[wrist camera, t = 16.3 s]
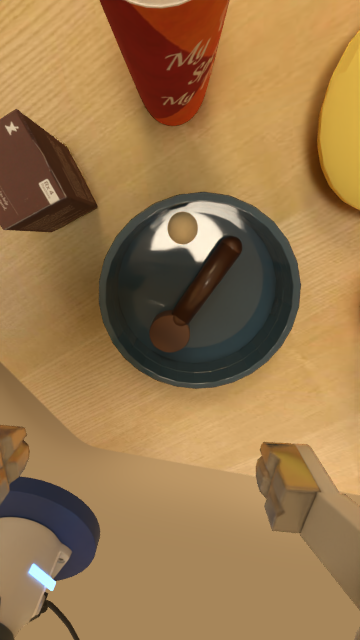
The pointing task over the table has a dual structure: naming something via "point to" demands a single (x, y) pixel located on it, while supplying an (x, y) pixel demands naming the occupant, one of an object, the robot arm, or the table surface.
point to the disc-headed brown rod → (193, 298)
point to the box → (38, 179)
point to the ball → (182, 227)
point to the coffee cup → (168, 51)
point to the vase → (342, 127)
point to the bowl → (221, 306)
